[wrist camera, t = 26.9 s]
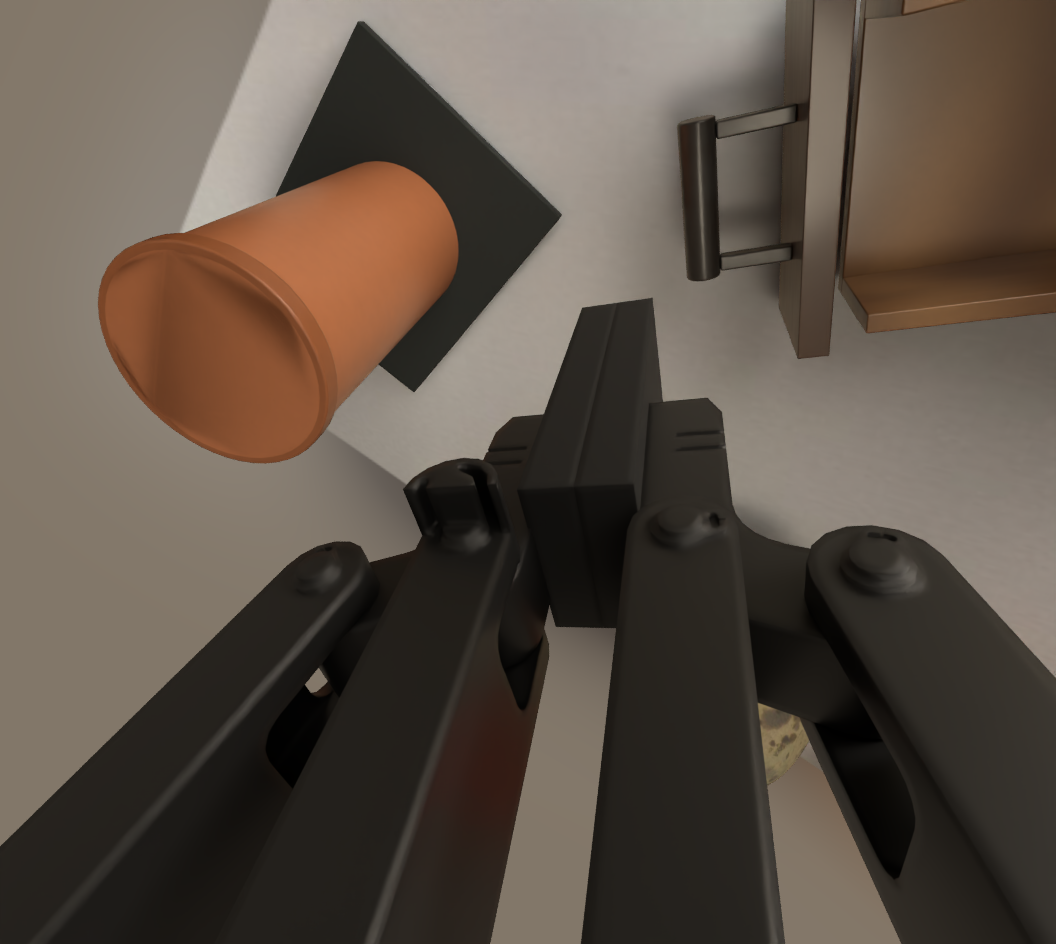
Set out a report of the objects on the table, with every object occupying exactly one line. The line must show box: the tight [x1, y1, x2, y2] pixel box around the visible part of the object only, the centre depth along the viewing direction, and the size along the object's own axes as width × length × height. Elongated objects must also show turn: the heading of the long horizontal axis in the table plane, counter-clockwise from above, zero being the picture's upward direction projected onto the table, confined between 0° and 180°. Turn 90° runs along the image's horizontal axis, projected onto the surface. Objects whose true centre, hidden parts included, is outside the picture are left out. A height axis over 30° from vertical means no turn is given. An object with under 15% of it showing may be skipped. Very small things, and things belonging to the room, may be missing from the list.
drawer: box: [677, 0, 1056, 359], centre depth 21 cm, size 20×12×6 cm, turn 103°
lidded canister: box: [98, 161, 459, 463], centre depth 25 cm, size 8×8×15 cm
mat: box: [276, 21, 561, 392], centre depth 31 cm, size 14×12×1 cm
